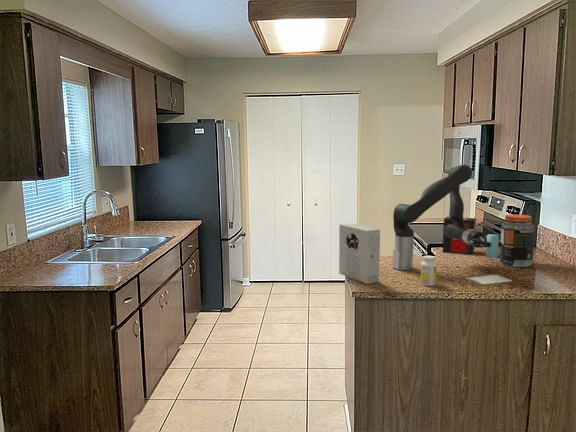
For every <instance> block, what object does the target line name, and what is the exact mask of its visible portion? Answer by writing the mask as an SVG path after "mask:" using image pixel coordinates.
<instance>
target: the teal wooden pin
mask: <svg viewBox="0 0 576 432" xmlns="http://www.w3.org/2000/svg"><path fill="white" fill-rule="evenodd" d="M486 236H487V242H490V243H491V247H486V251H485V257H487V258H493V259H495V258H496V259H497V258H499V257H498V244H499V239H500V236H499V234H494V233H493V234H492V233H490V234H487V235H486Z"/></svg>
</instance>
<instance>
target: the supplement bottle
mask: <svg viewBox="0 0 576 432" xmlns="http://www.w3.org/2000/svg"><path fill="white" fill-rule="evenodd" d="M420 284H421V285H422V286H427V287H428V286H432V287H434V286H435V285H437V263H436V262H435V256H433V255H424V256H423V261H422V262H421V265H420Z"/></svg>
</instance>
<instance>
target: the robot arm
mask: <svg viewBox="0 0 576 432" xmlns="http://www.w3.org/2000/svg"><path fill="white" fill-rule="evenodd" d="M447 175H448V176H446V177H443V178H441V179H439V180H437V181H435V182H433V183H432V184H430V185H429V186H427V187H426V188H425V189H424V190H423V191H422V194H421V195H420V198H419V199H418V200H416V201H415V202H414V203H411V204H408V203H407V204H406V203H398V204H397V205H396V206H395V207H394V209H393V214H392V215H393V231H394V233H395V234H394V249H393V250H392V268H393V267H394V268H393V269H395V268H396V269H395V270H397V269H398V271H411V269H412V270H413V268H414V235H415V231H414V230H413V229H412V228H411V227H410V225H409V224H412V223H414V222H415V221H417V220H418V219H419V218H420V217H421V216H423V214H424V213H425V212H426V211H428V210H429V209H430V208H432V207H433V206H435V204H437V203H438V202H440V201H441V200H442V199H444V198H445V197H446V196H448V195H449V213H448V217H449V219H450V220H452V221H454V222H455V224H456V225H453V224H449V225H447V226H446V227H445V230H444V229H443V233H444V232H445V235H446V236H447V237H450V238H454V239H458V240H461V241H463V242H466V243H468V244H470V245H473V246H474V247H476V248H477V247H478V248H480V247H486V248H487V247H491V243H490V242H487V235H485V233H484V232H483V231H480V230H477V229H475V230H473V229H468V228H465V224H464V219H463V218H464V210H465V209H464V208H465V205H464V201H463V199H462V196H461V193H460V186H461V185H463V184H464V183H466V182H468V181H470V179H471V178H472V175H473V170H472V167H470V166H469V165H466V164H460V165H457V166H454V167H452V168H450V169H449V170H448V174H447ZM500 241H501V238H499V244H498V246H499V247H501V246H502V242H500Z"/></svg>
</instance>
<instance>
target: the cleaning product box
mask: <svg viewBox="0 0 576 432" xmlns="http://www.w3.org/2000/svg"><path fill="white" fill-rule="evenodd" d="M463 219H464V224H465V228H468V229H473V230H476V221H477V220H476V219H477V218H476V217H475V218H473V217H463ZM449 224H453V225H456V224H455V222H454V221H452V220H450V219H449V216H445V217H444V219H443V235H442V237H443V238H442V239H443V240H442V253H447V254H456V255H468V256H474V255H473V254H474V253H475V246H473V245H470V244H468V243H466V242H463V241H461V240H458V239H454V238H450V237H447V236H446V235H445V232H444V230H445V227H446V226H447V225H449Z"/></svg>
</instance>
